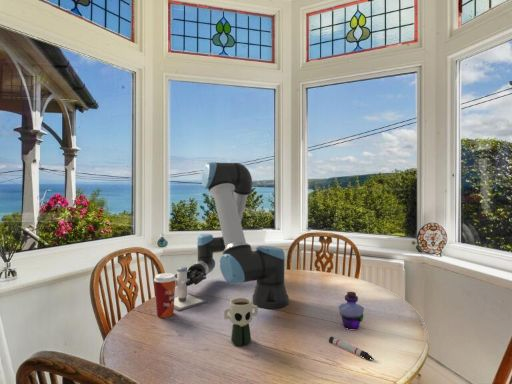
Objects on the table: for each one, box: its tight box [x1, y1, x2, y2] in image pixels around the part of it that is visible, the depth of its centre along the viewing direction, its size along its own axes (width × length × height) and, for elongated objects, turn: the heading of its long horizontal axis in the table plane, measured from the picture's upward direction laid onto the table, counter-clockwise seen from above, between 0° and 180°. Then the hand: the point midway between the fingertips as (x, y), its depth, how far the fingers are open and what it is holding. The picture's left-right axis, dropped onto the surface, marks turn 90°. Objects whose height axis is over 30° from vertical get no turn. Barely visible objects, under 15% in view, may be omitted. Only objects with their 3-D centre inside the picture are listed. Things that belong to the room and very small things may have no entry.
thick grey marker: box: [176, 266, 188, 301], centre depth 141 cm, size 4×4×14 cm
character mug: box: [223, 297, 259, 346], centre depth 106 cm, size 11×7×13 cm, turn 106°
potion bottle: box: [338, 291, 365, 330], centre depth 117 cm, size 9×9×12 cm
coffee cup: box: [153, 272, 176, 319], centre depth 128 cm, size 8×8×15 cm
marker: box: [328, 336, 375, 361], centre depth 100 cm, size 15×2×2 cm, turn 38°
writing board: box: [174, 292, 209, 312], centre depth 141 cm, size 14×14×1 cm
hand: (176, 286), depth 136 cm, fingers closed on thick grey marker, 4 cm apart
